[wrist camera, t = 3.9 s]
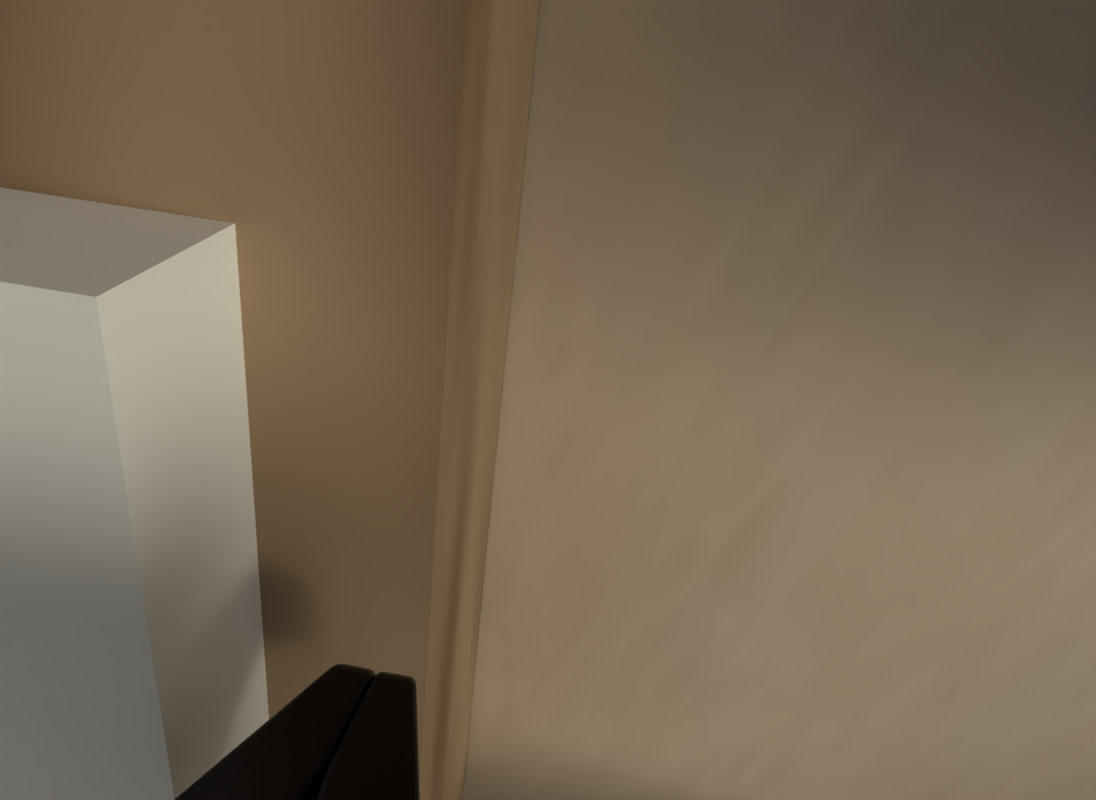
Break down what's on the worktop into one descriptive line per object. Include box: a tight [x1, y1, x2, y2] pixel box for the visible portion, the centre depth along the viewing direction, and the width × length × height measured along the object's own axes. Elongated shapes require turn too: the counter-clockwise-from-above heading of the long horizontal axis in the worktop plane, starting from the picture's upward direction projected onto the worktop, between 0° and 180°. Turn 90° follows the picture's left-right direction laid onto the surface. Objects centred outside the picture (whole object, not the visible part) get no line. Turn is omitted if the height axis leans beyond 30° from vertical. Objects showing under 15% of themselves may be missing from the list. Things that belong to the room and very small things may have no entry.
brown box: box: [0, 0, 540, 800], centre depth 11 cm, size 10×16×4 cm, turn 173°
